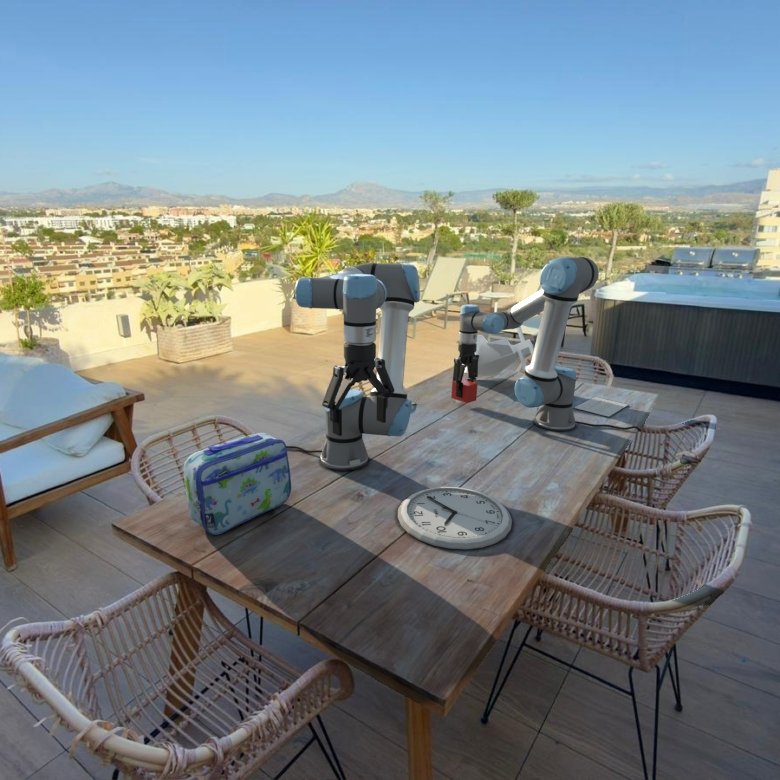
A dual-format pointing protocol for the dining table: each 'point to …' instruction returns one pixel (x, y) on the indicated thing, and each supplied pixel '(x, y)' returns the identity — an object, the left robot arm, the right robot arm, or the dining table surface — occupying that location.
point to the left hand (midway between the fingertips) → (359, 427)
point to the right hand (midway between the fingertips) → (464, 395)
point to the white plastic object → (500, 354)
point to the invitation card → (601, 406)
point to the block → (465, 391)
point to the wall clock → (454, 518)
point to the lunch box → (236, 481)
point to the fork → (414, 401)
